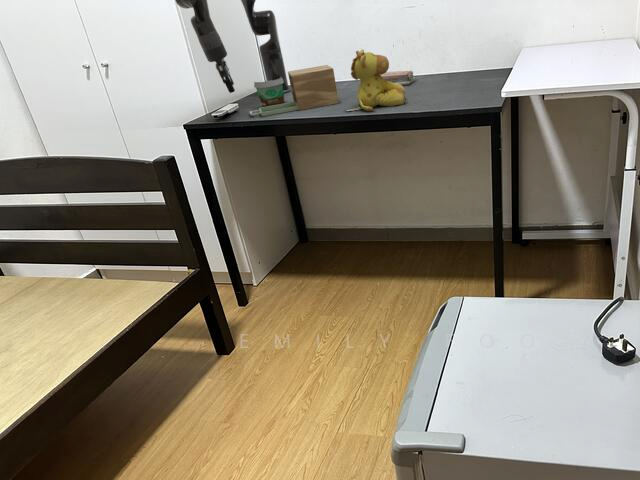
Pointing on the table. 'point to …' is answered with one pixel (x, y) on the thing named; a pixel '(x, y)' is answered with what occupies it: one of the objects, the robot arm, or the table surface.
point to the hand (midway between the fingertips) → (231, 88)
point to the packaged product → (399, 77)
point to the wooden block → (313, 87)
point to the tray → (275, 108)
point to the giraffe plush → (375, 82)
